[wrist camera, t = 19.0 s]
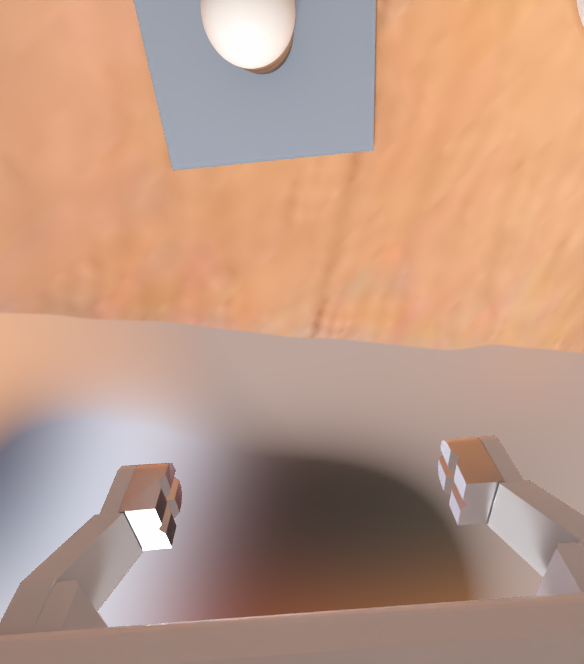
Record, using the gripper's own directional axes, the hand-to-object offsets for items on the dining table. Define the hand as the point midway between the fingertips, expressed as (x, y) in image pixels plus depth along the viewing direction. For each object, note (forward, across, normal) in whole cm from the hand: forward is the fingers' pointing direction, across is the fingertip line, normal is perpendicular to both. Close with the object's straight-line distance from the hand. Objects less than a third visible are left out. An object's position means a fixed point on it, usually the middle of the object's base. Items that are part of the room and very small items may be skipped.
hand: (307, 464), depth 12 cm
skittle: (+30, +1, -13) cm, 33 cm away
